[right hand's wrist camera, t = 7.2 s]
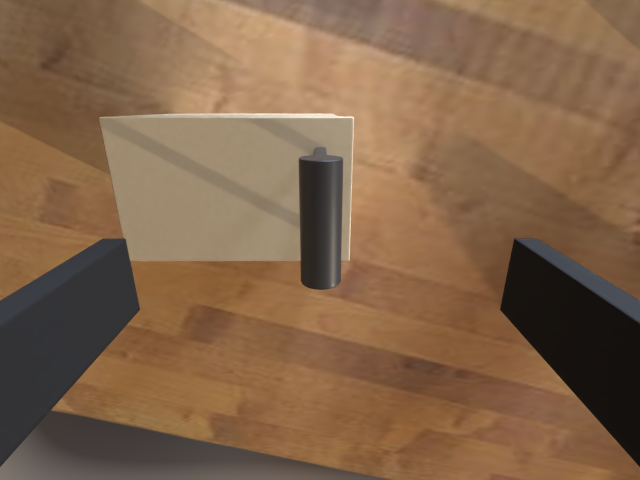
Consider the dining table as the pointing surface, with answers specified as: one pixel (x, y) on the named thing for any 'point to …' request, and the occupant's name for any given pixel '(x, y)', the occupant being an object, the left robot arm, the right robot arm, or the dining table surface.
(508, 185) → the dining table surface
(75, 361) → the right robot arm
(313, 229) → the lid
